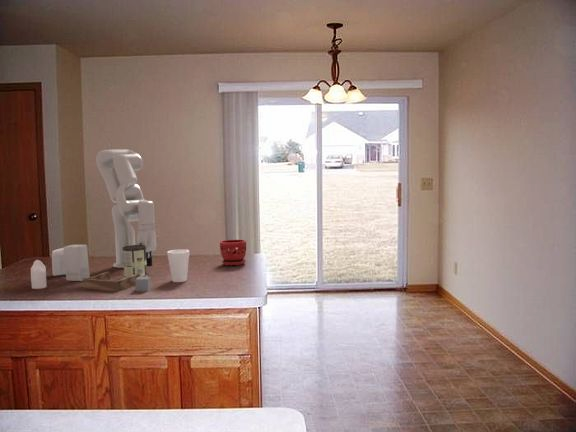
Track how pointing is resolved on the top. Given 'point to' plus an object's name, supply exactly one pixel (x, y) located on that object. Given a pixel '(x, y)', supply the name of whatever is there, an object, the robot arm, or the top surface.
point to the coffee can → (135, 260)
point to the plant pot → (236, 255)
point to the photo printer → (58, 262)
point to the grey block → (143, 284)
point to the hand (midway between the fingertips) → (148, 265)
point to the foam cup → (178, 264)
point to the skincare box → (76, 262)
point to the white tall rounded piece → (38, 275)
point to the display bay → (109, 282)
